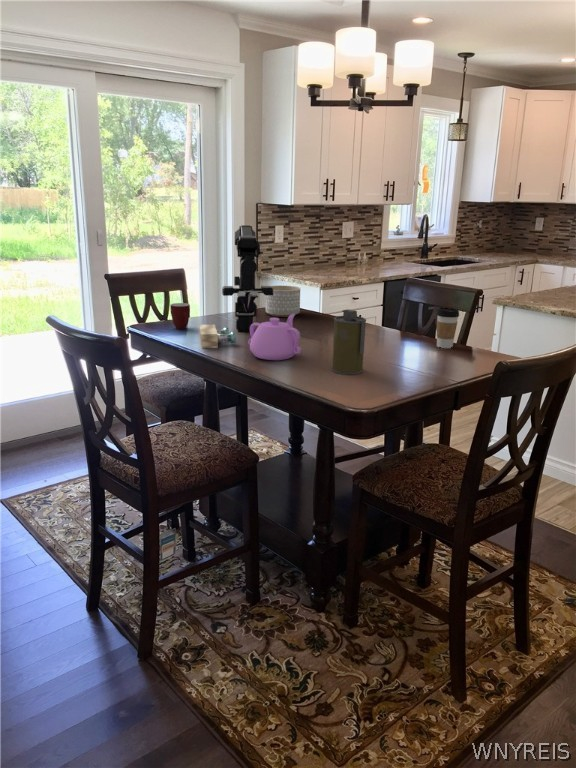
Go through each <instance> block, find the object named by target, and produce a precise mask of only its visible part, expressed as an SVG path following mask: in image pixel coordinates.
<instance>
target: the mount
mask: <svg viewBox="0 0 576 768" xmlns="http://www.w3.org/2000/svg"><path fill="white" fill-rule="evenodd" d="M198 326H199V341H200V346H201V347H202V348H201V349H214V348H215V349H218V347H219V345H218V343H219V342H218V334H217V331H216V330H217V328H216V324H199V325H198Z"/></svg>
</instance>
